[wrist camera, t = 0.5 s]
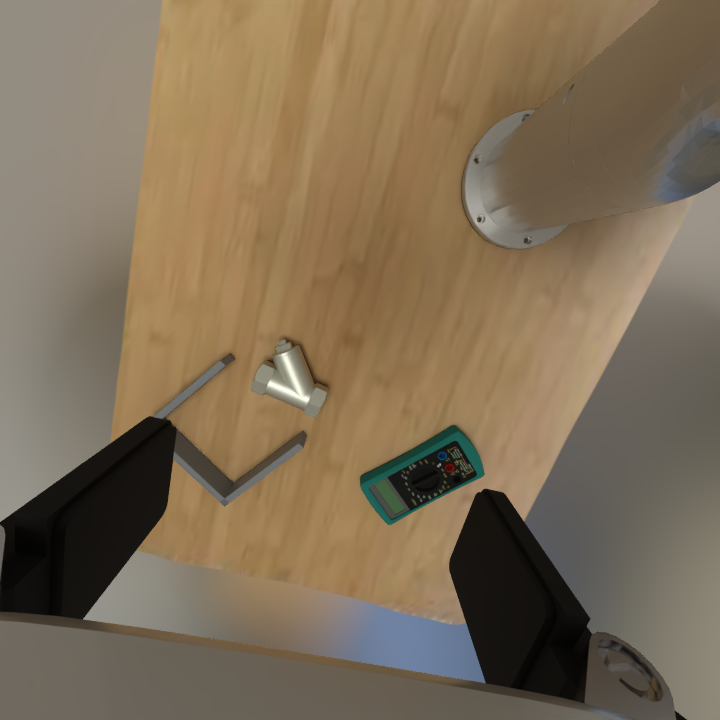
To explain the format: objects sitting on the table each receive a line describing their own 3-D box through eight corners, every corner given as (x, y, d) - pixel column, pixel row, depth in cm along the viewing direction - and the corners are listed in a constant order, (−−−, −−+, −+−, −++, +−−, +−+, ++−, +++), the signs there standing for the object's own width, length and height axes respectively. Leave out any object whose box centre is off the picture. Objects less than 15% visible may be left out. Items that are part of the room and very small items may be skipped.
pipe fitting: (278, 332, 39) (256, 383, 40) (271, 336, 35) (247, 392, 36) (340, 361, 40) (317, 409, 41) (340, 368, 36) (314, 421, 37)
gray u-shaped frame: (230, 353, 39) (220, 360, 36) (307, 435, 42) (303, 448, 39) (155, 416, 41) (139, 427, 38) (233, 490, 44) (224, 506, 41)
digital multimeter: (483, 463, 44) (492, 476, 41) (385, 514, 46) (387, 530, 43) (457, 419, 42) (464, 430, 39) (357, 474, 44) (357, 489, 41)
